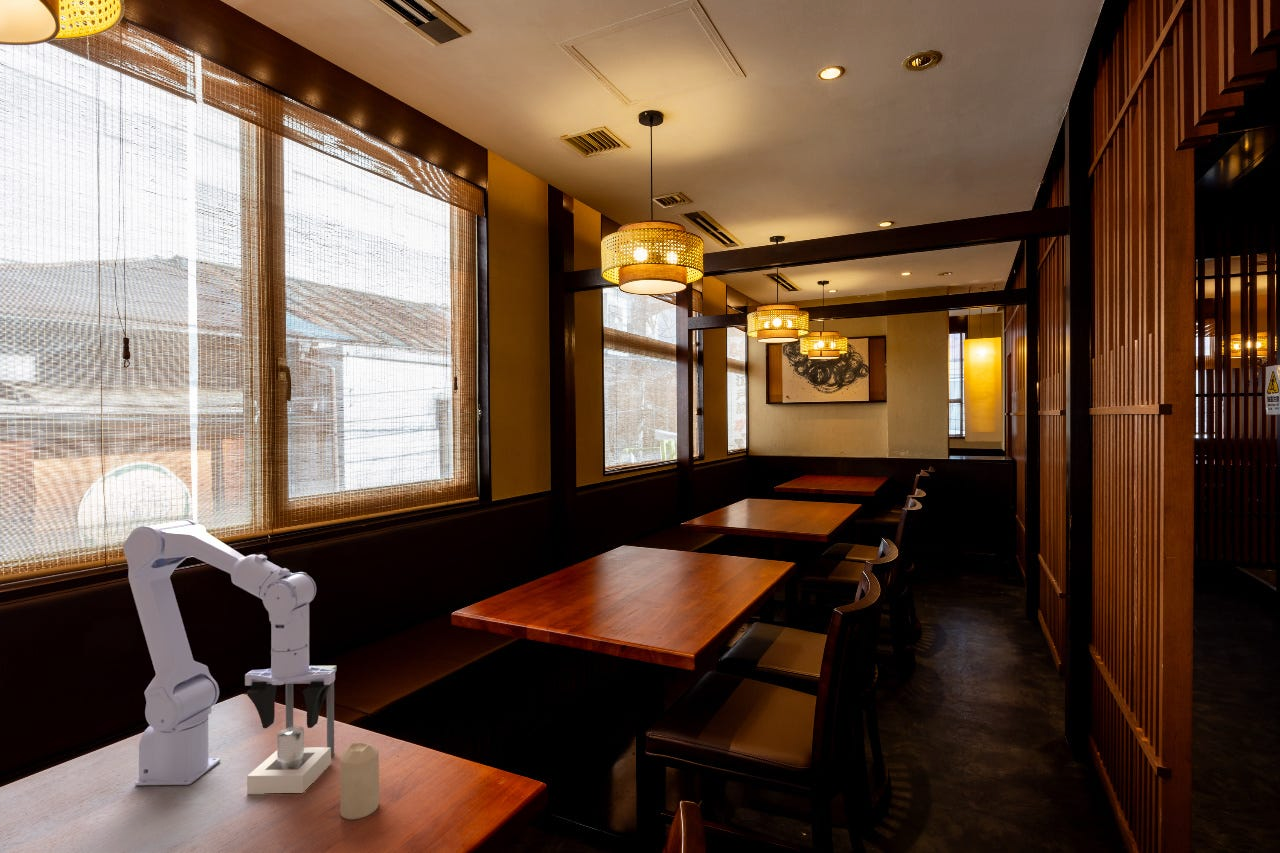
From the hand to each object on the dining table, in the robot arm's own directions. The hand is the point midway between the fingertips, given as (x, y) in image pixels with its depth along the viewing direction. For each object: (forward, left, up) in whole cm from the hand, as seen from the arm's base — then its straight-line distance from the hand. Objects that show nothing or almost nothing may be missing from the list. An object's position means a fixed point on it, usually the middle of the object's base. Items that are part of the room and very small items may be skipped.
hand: (290, 725), depth 107 cm
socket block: (0, 0, -9) cm, 9 cm away
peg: (0, 0, -9) cm, 9 cm away
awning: (-1, +6, -9) cm, 11 cm away
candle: (+16, -9, -9) cm, 21 cm away
